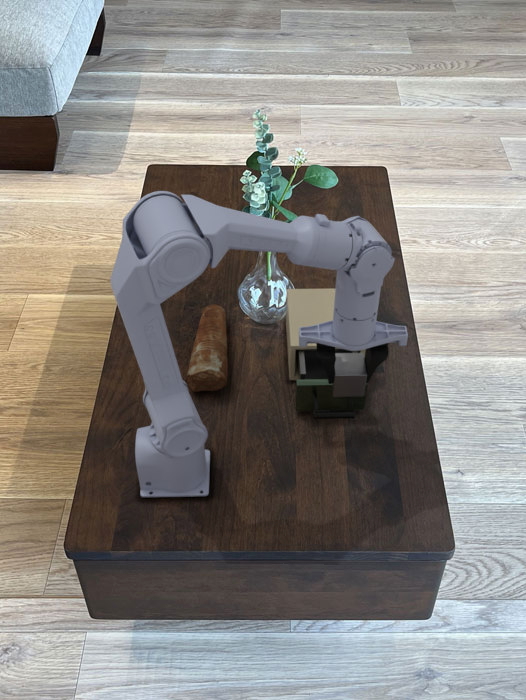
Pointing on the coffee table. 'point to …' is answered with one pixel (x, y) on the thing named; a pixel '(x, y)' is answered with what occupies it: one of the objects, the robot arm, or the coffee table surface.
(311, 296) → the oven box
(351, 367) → the block
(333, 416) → the drawer
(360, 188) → the coffee table surface
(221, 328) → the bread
